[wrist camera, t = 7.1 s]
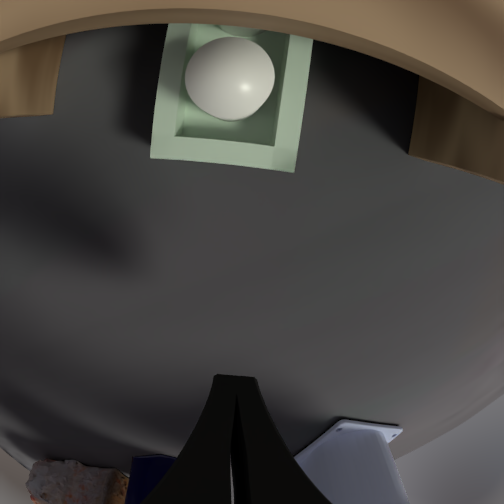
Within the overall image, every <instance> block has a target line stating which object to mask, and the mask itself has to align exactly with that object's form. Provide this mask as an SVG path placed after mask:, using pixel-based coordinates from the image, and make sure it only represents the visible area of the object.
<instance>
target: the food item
mask: <svg viewBox="0 0 504 504" xmlns="http://www.w3.org/2000/svg"><path fill="white" fill-rule="evenodd" d="M128 482H129V478H127V477H126V476H124V475H123V474H122V473H121V472H120V471H119V470H117V469H115V468H100V467H92V466H85V465H83V464H81V463H80V462H78V461H76V460H72V459H71V460H65V461H64V462H63V461H55V460H51V459H48V458H47V459H45V460H44V461H41V460H39V461H38V462H35V463H34V464H33V468H32V470H31V471H30V474H29V480H28V481H27V482H26V486H27V489H28V491H29V493H30V494H31V496H30V497H31V500H32V501H33V503H34V504H124V502H125V497H126V492H127V487H128Z"/></svg>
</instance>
